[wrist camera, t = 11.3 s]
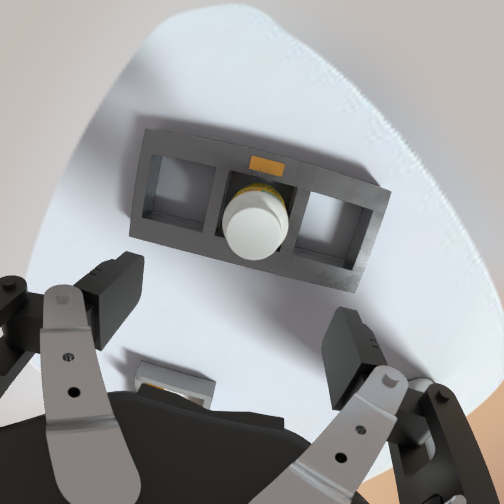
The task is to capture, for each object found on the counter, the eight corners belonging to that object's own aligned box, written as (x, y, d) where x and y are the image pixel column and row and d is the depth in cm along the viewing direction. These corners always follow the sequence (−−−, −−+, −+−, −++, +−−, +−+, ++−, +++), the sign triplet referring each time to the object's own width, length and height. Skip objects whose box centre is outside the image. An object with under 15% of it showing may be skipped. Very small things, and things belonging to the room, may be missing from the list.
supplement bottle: (227, 226, 31) (209, 260, 22) (238, 176, 29) (222, 189, 20) (278, 237, 31) (280, 276, 22) (290, 188, 30) (298, 207, 21)
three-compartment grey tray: (381, 187, 29) (392, 191, 26) (348, 280, 33) (355, 294, 30) (156, 129, 28) (144, 128, 25) (140, 228, 32) (128, 236, 29)
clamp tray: (216, 382, 39) (212, 397, 36) (199, 446, 46) (196, 458, 43) (141, 360, 39) (134, 373, 36) (142, 429, 45) (137, 441, 42)
